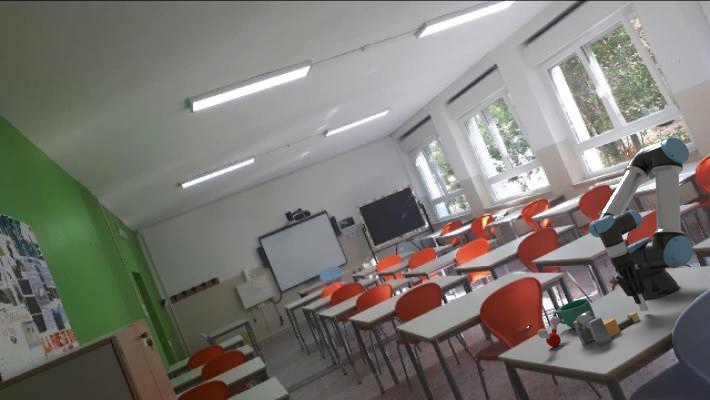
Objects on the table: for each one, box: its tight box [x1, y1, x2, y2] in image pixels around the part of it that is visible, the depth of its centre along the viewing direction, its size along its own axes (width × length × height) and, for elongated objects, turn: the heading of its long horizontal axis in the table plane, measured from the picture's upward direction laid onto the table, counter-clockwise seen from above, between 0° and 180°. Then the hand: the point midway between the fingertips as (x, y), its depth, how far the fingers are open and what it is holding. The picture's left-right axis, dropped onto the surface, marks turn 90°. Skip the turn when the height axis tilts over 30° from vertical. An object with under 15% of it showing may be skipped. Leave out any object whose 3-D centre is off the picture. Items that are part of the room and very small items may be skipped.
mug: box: [552, 298, 595, 329], centre depth 245 cm, size 17×13×10 cm
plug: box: [602, 311, 640, 338], centre depth 219 cm, size 16×4×5 cm, turn 106°
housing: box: [572, 311, 612, 347], centre depth 216 cm, size 5×11×12 cm, turn 16°
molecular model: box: [537, 316, 561, 348], centre depth 231 cm, size 18×6×10 cm, turn 139°
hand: (644, 310), depth 223 cm, fingers closed
